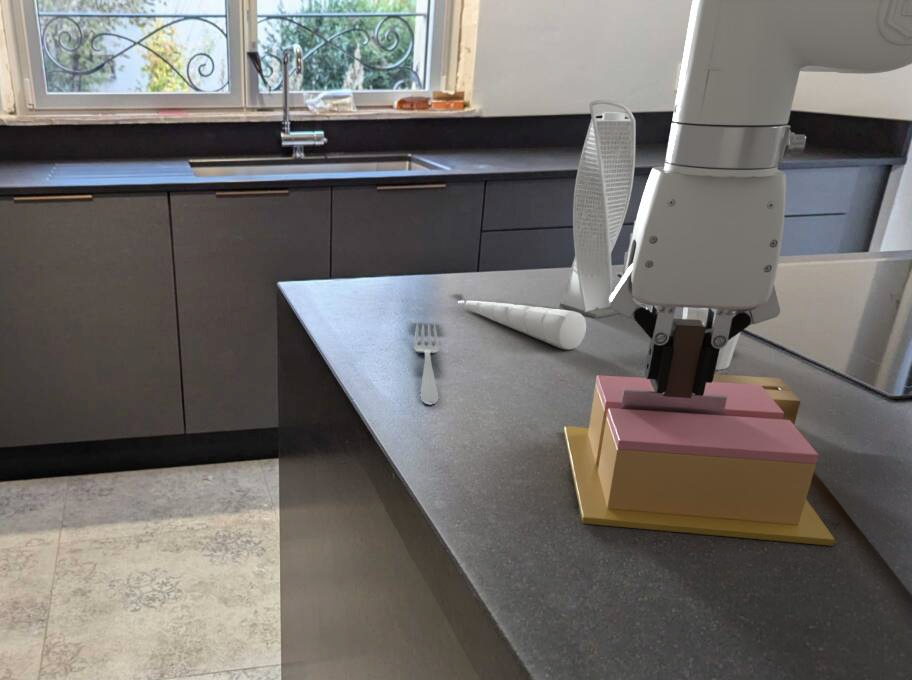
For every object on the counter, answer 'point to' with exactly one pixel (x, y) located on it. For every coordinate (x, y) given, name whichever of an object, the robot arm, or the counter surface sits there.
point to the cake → (695, 467)
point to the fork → (427, 365)
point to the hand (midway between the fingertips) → (675, 386)
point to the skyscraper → (600, 209)
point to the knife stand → (769, 392)
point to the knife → (679, 377)
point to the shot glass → (724, 352)
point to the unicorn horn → (535, 321)
